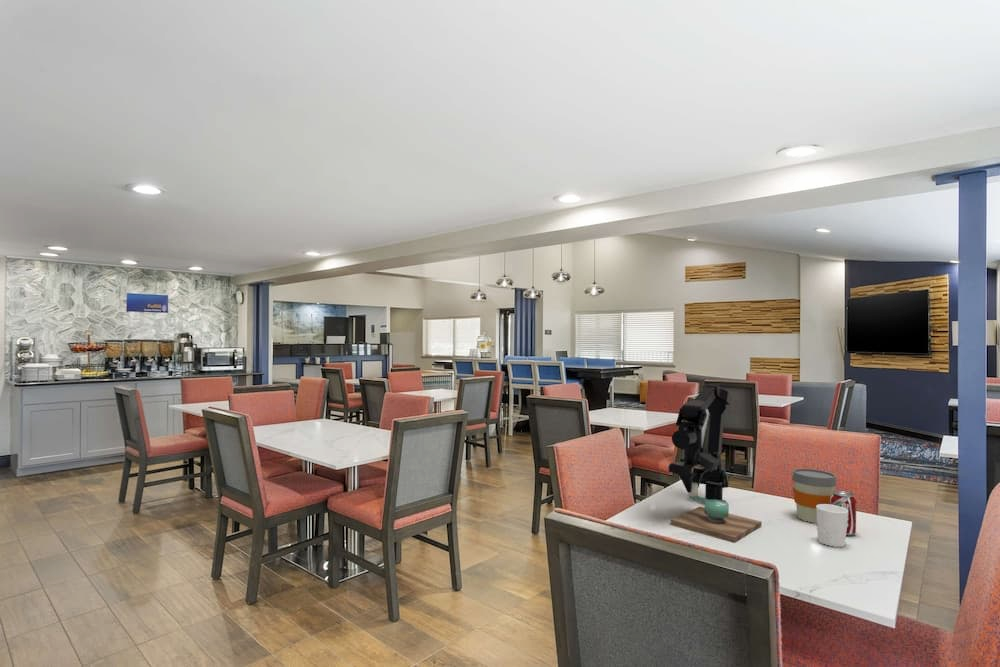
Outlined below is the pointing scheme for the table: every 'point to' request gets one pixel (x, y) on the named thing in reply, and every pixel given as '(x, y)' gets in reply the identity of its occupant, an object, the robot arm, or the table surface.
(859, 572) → the table surface
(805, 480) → the reusable coffee cup
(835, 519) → the white cup
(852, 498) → the soda can
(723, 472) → the robot arm
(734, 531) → the brown wooden cutting board
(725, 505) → the teal bulbous piece
